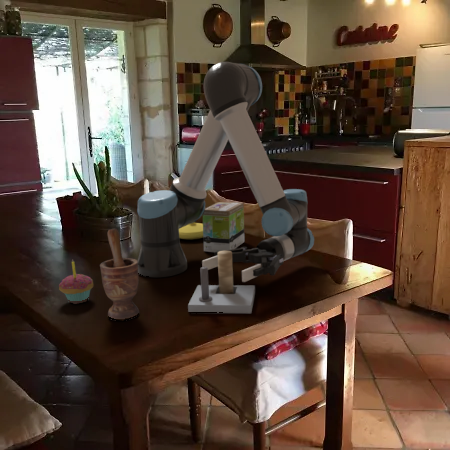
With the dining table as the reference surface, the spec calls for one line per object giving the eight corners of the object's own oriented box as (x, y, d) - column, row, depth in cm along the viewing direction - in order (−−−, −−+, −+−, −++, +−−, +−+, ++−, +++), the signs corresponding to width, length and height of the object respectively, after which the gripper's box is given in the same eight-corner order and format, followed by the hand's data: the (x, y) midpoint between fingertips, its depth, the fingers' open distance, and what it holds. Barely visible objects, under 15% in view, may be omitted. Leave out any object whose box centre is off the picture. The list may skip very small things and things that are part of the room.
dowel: (218, 300, 121) (216, 254, 118) (220, 294, 125) (218, 250, 122) (232, 300, 121) (231, 254, 118) (234, 295, 124) (232, 250, 121)
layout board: (188, 312, 115) (185, 272, 112) (198, 292, 127) (196, 256, 125) (251, 313, 113) (249, 272, 110) (255, 292, 125) (253, 255, 123)
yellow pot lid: (221, 236, 182) (221, 218, 181) (188, 245, 172) (186, 226, 171) (197, 230, 194) (195, 212, 192) (164, 237, 184) (162, 219, 183)
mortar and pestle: (94, 311, 118) (85, 232, 113) (125, 301, 123) (118, 225, 119) (115, 325, 109) (106, 241, 105) (148, 314, 115) (141, 233, 110)
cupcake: (95, 304, 122) (90, 259, 119) (60, 309, 120) (54, 264, 117) (94, 293, 130) (89, 250, 127) (61, 297, 128) (56, 254, 125)
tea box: (231, 254, 159) (229, 210, 156) (203, 252, 163) (200, 209, 160) (245, 241, 173) (243, 201, 170) (219, 240, 177) (217, 200, 173)
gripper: (312, 271, 127) (262, 296, 112) (241, 255, 144) (189, 275, 129) (312, 244, 126) (261, 265, 111) (240, 231, 142) (187, 248, 127)
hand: (222, 271), depth 120 cm, fingers open, 13 cm apart
